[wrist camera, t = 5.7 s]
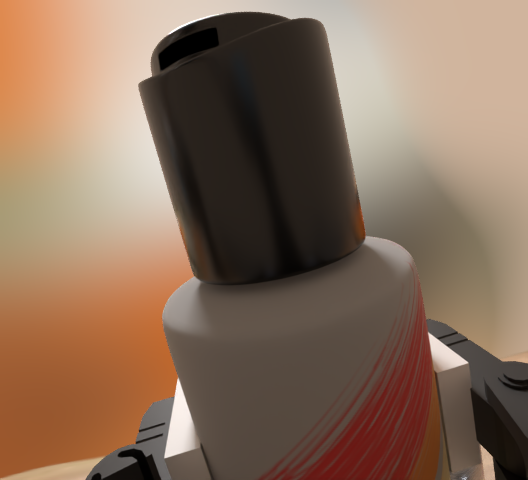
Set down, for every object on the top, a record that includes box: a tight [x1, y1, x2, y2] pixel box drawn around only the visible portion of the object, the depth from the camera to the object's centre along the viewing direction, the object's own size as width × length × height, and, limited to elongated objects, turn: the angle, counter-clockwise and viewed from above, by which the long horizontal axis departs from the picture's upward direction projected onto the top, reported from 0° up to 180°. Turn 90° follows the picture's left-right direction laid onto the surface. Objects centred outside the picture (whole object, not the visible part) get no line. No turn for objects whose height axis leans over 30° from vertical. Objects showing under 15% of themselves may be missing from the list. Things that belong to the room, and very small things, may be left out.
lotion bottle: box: [138, 12, 451, 480], centre depth 9 cm, size 6×6×20 cm
